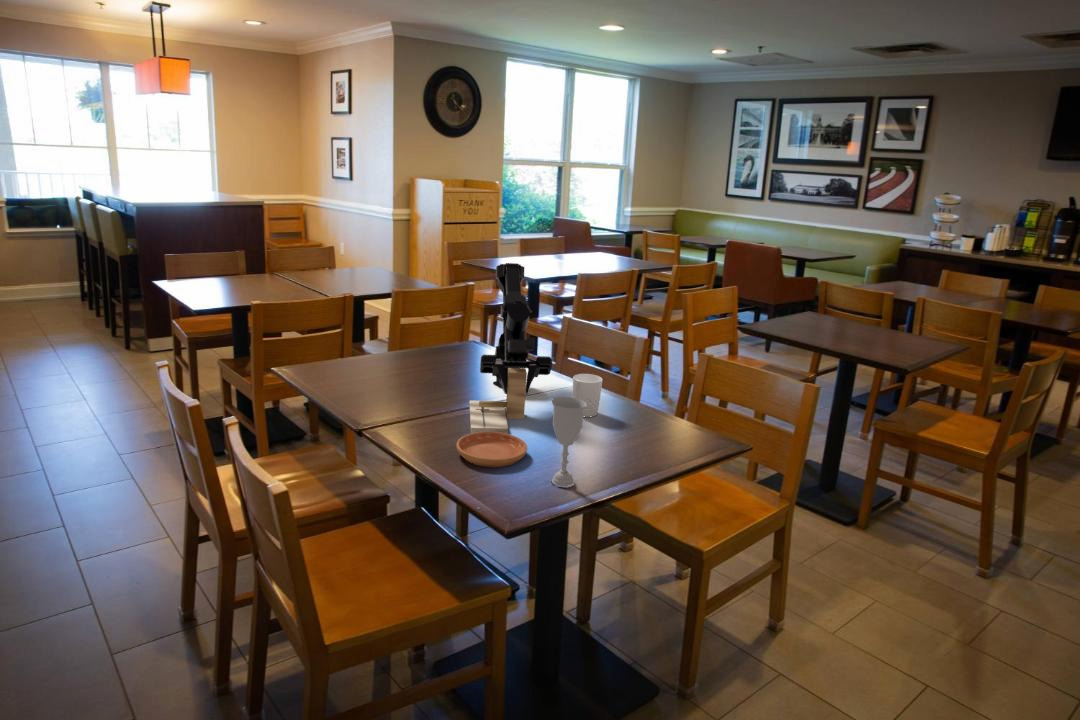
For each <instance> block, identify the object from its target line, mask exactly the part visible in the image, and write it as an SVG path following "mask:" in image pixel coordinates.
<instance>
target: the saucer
mask: <svg viewBox="0 0 1080 720" xmlns="http://www.w3.org/2000/svg"><path fill="white" fill-rule="evenodd" d="M456 451H457V452H458V454H460V456H461V457H462V458H464V460H466V462H469V463H471V464H472V463H473V464H472V465H476V466H480V467H484V468H485V467H486V468H503V467H507V465H508V466H511V465H513V463H514V464H516V463H517V462H519V461H520V460H522V458H524V457H525V455H527V451H528V445H527V444H526V442H525V441H524V440H523V439H521V438H520V437H518V436H515V435H512V434H509V433H508V434H505V433H500V432H476V433H471V432H470V433H469V434H465V435H463V436H462V437H459V438H458V440H457V442H456ZM515 462H516V463H515ZM502 466H503V467H502Z"/></svg>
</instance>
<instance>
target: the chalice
mask: <svg viewBox="0 0 1080 720" xmlns="http://www.w3.org/2000/svg"><path fill="white" fill-rule="evenodd" d="M551 403H552V406H553V415H552V417H553V418H552V427H553V430H554V434H555V436H556V438H557V441H558V443H559V445H562V447H563V448H562V452H561V453H560V454H561V456H562V458H561V460H559V462H560V463H561V468H560V469H559V470H557V471H556V472H555V473H554V475H553V477H552V479H551V481H552V482H553V483H554V484H556V485H560V486H568V485H571V484H573V481H574V478H573V475H572V473H571V472H570V471H569V470H567V465H568V464H569V463H570V462H569V461H568V456H569V455H570V453H569V446H572V445H573V444H574V443H575V441H576V440H577V438H578V436H579V435H580V432H581V430H582V428H583V423H584V422H583V420H584V417H583V411H584V408H585V407H586V405H587V404H586V402H585V401H583V400H580V399H577V398H573V396H572V397H571V396H559V397H558V396H557V397H555V398H553V399H551Z"/></svg>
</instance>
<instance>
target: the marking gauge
mask: <svg viewBox="0 0 1080 720" xmlns="http://www.w3.org/2000/svg"><path fill="white" fill-rule="evenodd" d="M527 374H528V371H527V368H508V379H507V394H506V400H505V401H503V400H478V401H479V407H482V409H484V407H504V408H505V415H506V419H519V420H521V419H525V408H526V407H525V405H526V382H527Z"/></svg>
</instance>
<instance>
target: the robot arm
mask: <svg viewBox="0 0 1080 720" xmlns="http://www.w3.org/2000/svg"><path fill="white" fill-rule="evenodd" d="M495 280H497V287H498V289H499V290H500V292H501V293H502V304H501V305H500V318H502V333H501V334H500V337H499V339H498V343H497V346H495V351H494V354H482V355H481V356H480V364H479V373H481V374H491V376H492V377H495V378H496V379H495V380H496V381H495V380H494V381H493V383H492V384H493V385H496V386H498V387H500V388H502V390H503V393H504V394H505V395H507V379H508V368H525V369H527V377H526V393H525V396H526V395H528V394H529V390H530V387H531V384H532V382H533V381H534V378H538V377H539V375H540V376H541V375H542V376H548V375H550V374H551V371H552V367H553V359H552V357H551V356H539V355H537V356H536V360H527V359H528V357H529V351H533V352H534V351H535V349H536V341H535V339H536V338H535V337H527V334H526V333H527V331H526V330H527V328H528V325H529V319H531V317H533V311H532V310H531V308H530V306H529V304H528V303H527V298H526V297H525V296H524V295H523V294H522V287H521V285H522V281H523V280H525V266H522V264H519V263H514V262H513V263H512V262H505V263H500V264H498V265H497V266H496V267H495Z"/></svg>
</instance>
